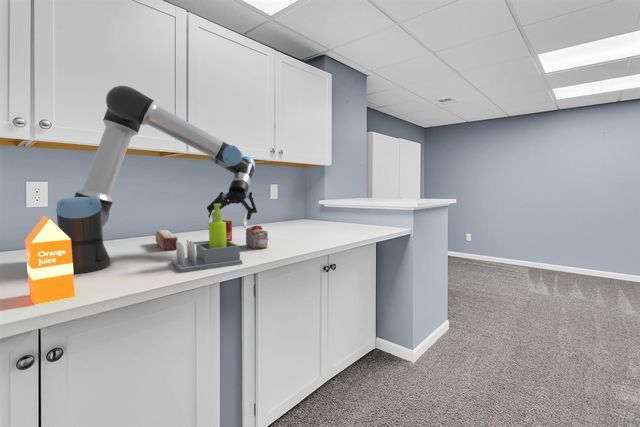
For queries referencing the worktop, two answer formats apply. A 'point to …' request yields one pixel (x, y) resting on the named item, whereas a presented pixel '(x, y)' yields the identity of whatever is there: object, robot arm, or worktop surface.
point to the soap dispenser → (217, 229)
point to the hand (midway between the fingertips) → (226, 225)
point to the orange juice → (49, 263)
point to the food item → (256, 237)
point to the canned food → (228, 228)
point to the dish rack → (205, 256)
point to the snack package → (166, 240)
